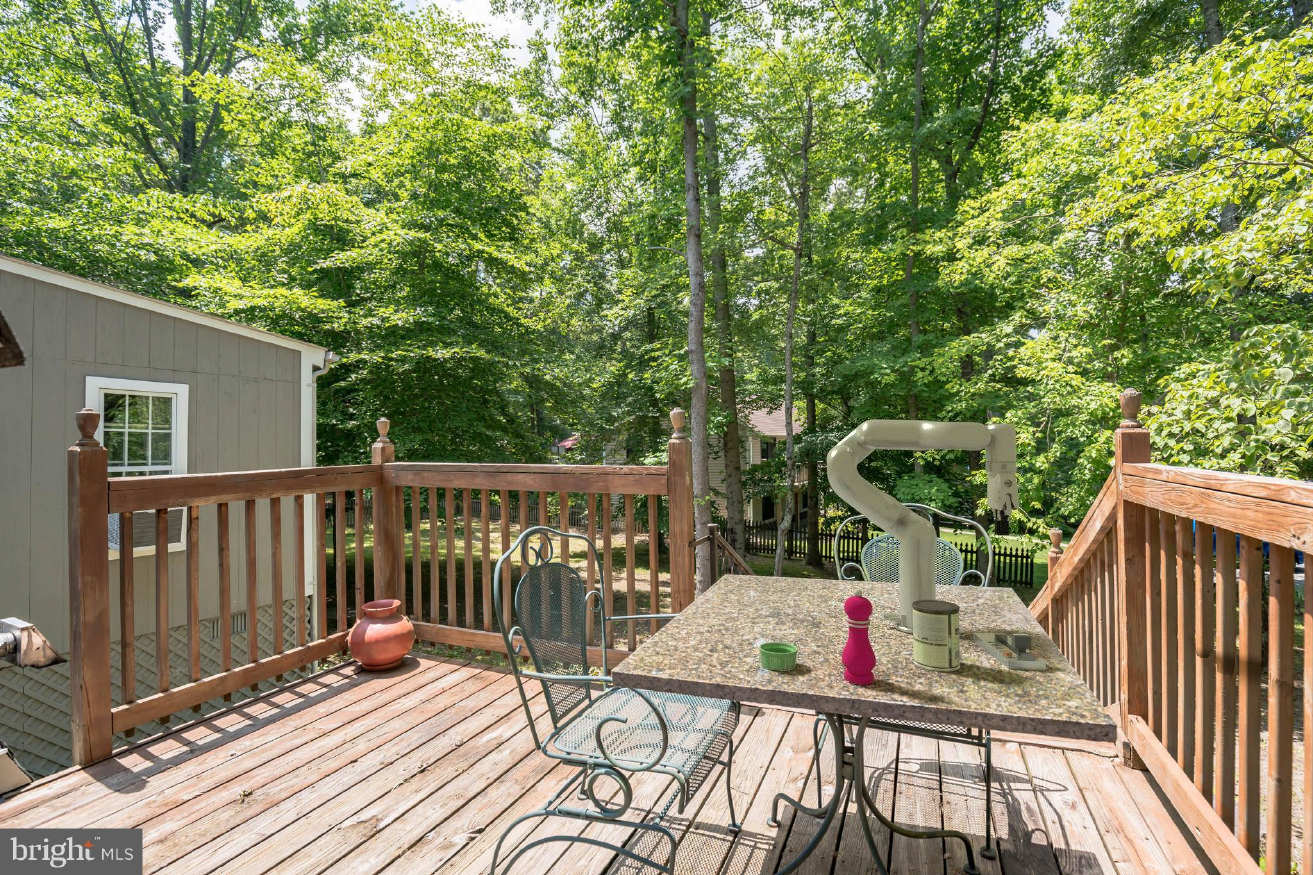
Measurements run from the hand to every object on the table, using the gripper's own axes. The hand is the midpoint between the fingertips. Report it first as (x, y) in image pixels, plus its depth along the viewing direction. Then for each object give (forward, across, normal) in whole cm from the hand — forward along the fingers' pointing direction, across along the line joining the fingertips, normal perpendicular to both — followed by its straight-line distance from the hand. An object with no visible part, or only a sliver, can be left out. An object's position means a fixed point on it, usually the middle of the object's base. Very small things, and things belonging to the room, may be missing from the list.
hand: (1001, 534), depth 179 cm
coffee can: (+27, -29, +26) cm, 48 cm away
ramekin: (+28, -34, +63) cm, 77 cm away
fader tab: (+25, -26, +6) cm, 37 cm away
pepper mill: (+27, -42, +46) cm, 68 cm away
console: (+27, -19, +6) cm, 34 cm away
